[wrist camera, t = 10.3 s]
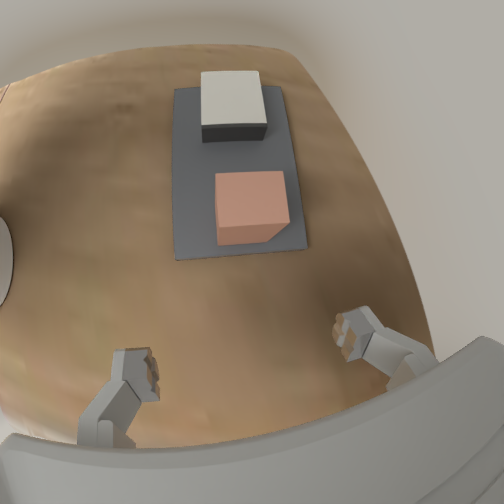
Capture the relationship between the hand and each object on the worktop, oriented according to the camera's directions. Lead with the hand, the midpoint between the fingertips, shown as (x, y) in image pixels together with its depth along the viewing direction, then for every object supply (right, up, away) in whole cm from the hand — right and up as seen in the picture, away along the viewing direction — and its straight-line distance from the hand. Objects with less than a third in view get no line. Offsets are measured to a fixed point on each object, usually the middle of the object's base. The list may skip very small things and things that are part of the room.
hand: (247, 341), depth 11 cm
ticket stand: (-2, +14, +20) cm, 24 cm away
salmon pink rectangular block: (-1, +6, +17) cm, 18 cm away
